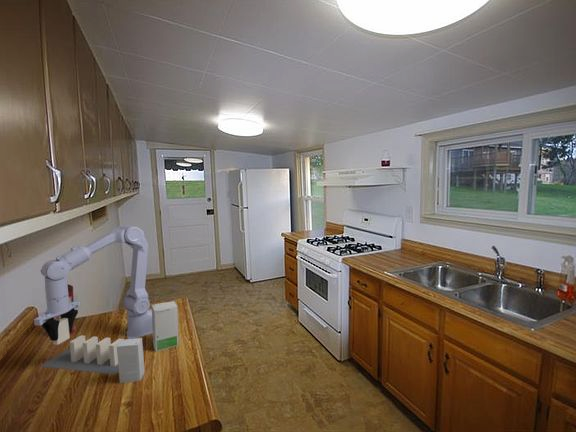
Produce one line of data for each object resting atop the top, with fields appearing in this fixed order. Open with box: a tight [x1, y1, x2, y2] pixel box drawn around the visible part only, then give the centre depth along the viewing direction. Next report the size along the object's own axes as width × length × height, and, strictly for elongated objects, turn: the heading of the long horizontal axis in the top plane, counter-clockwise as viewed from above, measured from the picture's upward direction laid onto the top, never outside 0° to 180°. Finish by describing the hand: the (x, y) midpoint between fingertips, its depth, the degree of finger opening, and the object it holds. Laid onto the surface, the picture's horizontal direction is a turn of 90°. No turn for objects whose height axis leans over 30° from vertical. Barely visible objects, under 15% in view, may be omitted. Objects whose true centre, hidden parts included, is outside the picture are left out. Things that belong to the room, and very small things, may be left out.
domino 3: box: [83, 336, 99, 363], centre depth 99 cm, size 2×4×7 cm, turn 170°
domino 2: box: [69, 334, 86, 362], centre depth 100 cm, size 2×4×7 cm, turn 170°
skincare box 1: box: [117, 337, 146, 384], centre depth 89 cm, size 6×4×12 cm
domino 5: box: [109, 338, 124, 366], centre depth 97 cm, size 2×4×7 cm, turn 170°
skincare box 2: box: [150, 301, 180, 352], centre depth 108 cm, size 8×7×16 cm
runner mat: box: [40, 347, 119, 375], centre depth 99 cm, size 28×12×1 cm, turn 80°
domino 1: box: [52, 318, 71, 346], centre depth 97 cm, size 2×4×7 cm, turn 171°
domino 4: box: [96, 337, 112, 365], centre depth 98 cm, size 2×4×7 cm, turn 170°
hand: (61, 336), depth 97 cm, fingers closed on domino 1, 4 cm apart
